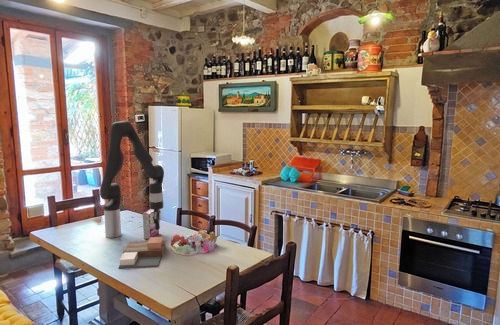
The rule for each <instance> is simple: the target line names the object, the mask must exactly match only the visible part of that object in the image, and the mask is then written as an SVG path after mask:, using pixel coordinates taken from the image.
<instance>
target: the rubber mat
mask: <svg viewBox="0 0 500 325" xmlns="http://www.w3.org/2000/svg"><path fill="white" fill-rule="evenodd" d="M161 259H162V258H161V256H153V257H138V258H137V260H136V262H135V264H134V265H120V264H119V266H118V269H120V270H121V269H134V268H135V269H136V268H138V269H139V268H154V267H157V268H158V267H159V265H160V262H161Z"/></svg>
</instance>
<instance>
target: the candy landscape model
mask: <svg viewBox="0 0 500 325" xmlns="http://www.w3.org/2000/svg"><path fill="white" fill-rule="evenodd" d="M217 240H218V235H215V232H214V231H211V232H209V234H208V233H207V232H206V231H204V230H201V229H200V230H198V231H197V233H196V232H194V233H192V234H188V235H187V236H186V238H185V236H184V235H180V234H174V235H173V236H172V239H171V240H170V250H171V251H172V252H173V253H175V254H177V255H181V256H194V255H196V254H208V253H210V252H212V251H215V249H216V247H217V246H218V244H217Z"/></svg>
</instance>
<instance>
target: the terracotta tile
mask: <svg viewBox="0 0 500 325" xmlns="http://www.w3.org/2000/svg"><path fill="white" fill-rule="evenodd" d="M163 240H164V237H163V236H155V237H150V238H149V239H147V241H148V243H147V249H148V248H161V246H162V243H163Z"/></svg>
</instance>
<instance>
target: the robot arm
mask: <svg viewBox="0 0 500 325" xmlns="http://www.w3.org/2000/svg"><path fill="white" fill-rule="evenodd" d="M123 138H128V139H129V141H130V142H131V144H132V149H133V154H134V156H135V158H136V159H137V161H138V162H139V163H140V164H141V166H142V169H143V171H144V173H145V175H146V176H147V177H148V178H149V179H151V180H152V181H151V182H150V183H149V188H148V189H149V197H148V198H149V210H150V209H153V210H154V212H153V220H154V223H155V229H156V230H160V227H161V226H160V222H161V218H162V216H161V213H162V211H161V209H163V208H164V195H163V182H164V177H165V171H164V167H163V166H162V165H160V164H159V165H158V164H156V165H154V164H153V161H154V159H153V157H152V155H151V154H150V153H149V151H148V150H147V148H146V147H145V146H144V144H143V143H142V140H141V139H140V137H139V135H138V133H137V132H136V130H135V128H134V126H133V124H132V122H130V121H127V120H121V121H119V120H118V121H115V122H113V123H112V124H111V126H110V132H109V146H108V153H107V157H106V163H105V170H104V174H103V178H102V181H101V184H100V188H99V195H100V197H101V198H100V199H102V200H109V201H108V202H107V203H105V204H104V205H103V214H104V216H103V217H104V233H105V237H106V238H107V239H110V238H111V239H113V238H118V237H121V236H122V223H121V222H122V221H121V201H122V200H121V196H122V195H121V194H122V193H121V187H120V184H118V183H117V182H113V181H114V179H115V178H116V176H117V175H118V174H119V173H120V171H122V169H123V165H124V161H125V157H124V153H123V151H122V149H121V145H122V144H121V143H122V139H123Z"/></svg>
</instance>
